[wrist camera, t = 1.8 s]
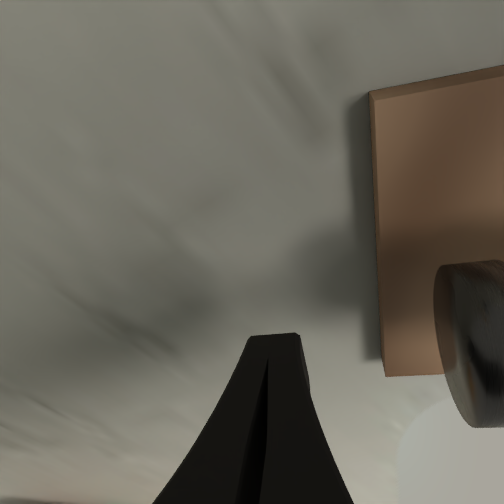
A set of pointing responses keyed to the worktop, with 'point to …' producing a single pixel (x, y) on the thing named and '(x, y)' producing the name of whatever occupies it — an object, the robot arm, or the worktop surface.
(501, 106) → the base board
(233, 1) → the worktop surface
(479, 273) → the shaft
